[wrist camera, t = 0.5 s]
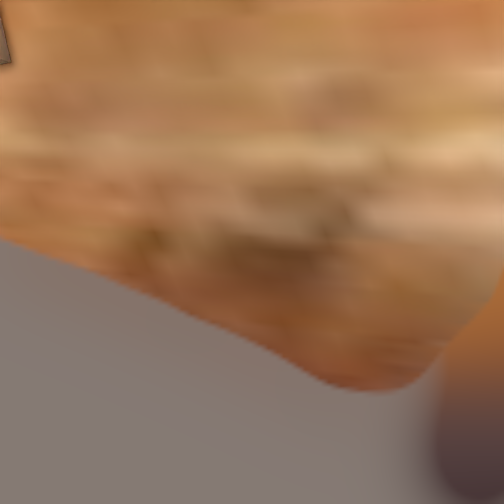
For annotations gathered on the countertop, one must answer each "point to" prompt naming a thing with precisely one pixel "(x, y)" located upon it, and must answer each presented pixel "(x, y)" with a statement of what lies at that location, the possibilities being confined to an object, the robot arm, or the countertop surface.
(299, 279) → the countertop surface
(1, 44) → the tray
